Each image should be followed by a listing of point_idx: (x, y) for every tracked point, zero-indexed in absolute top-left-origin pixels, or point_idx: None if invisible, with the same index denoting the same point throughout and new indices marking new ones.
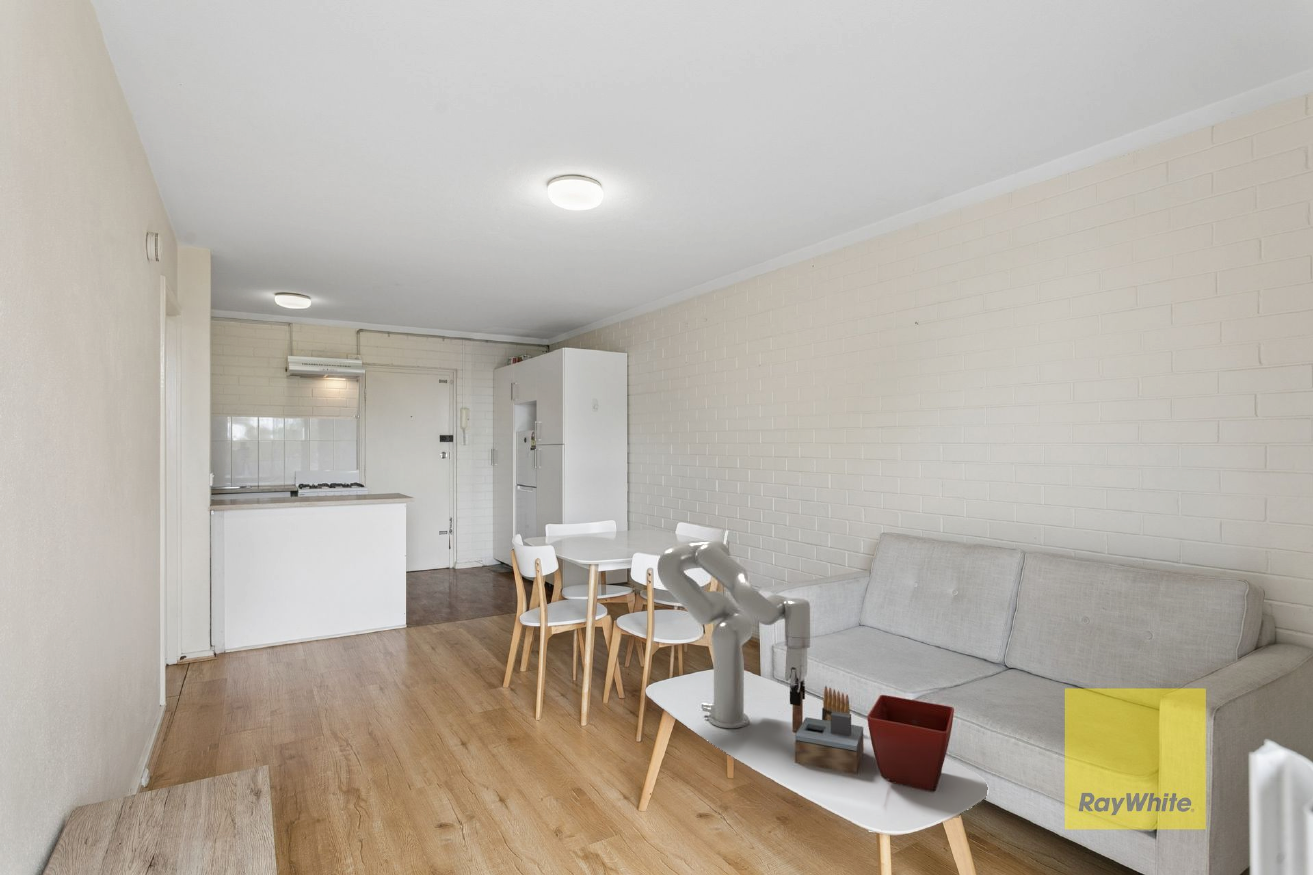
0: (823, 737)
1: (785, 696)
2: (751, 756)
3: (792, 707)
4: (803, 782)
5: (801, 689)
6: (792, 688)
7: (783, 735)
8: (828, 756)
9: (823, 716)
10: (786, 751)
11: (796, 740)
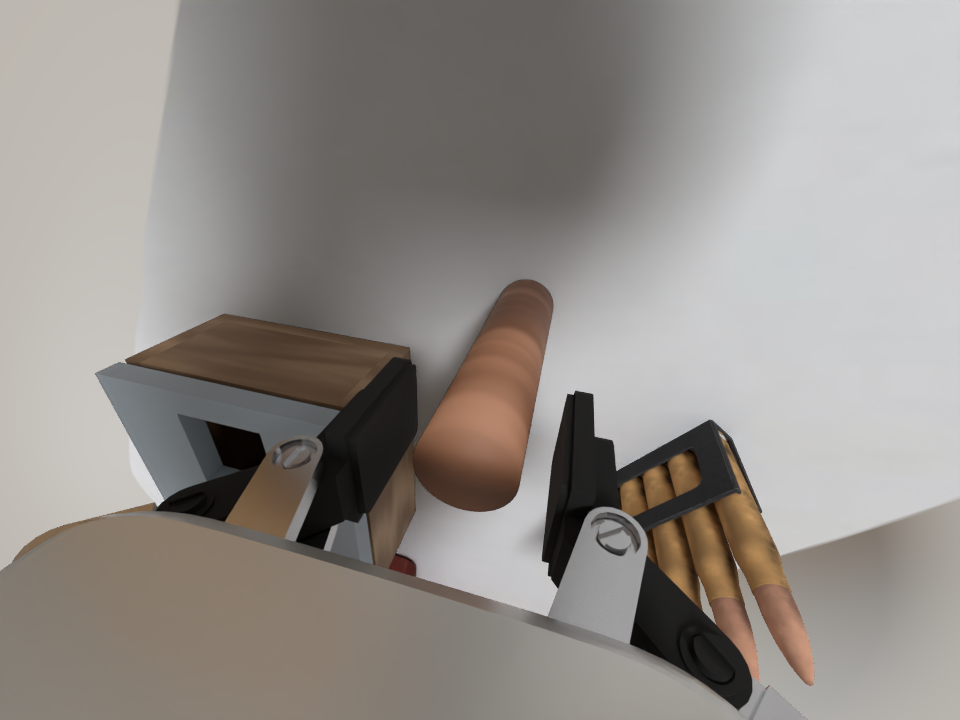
0: (173, 477)
1: None
2: (169, 103)
3: (489, 346)
4: (152, 343)
5: (549, 517)
6: (234, 493)
7: (486, 232)
8: None
9: (710, 456)
10: (315, 269)
11: (134, 364)
